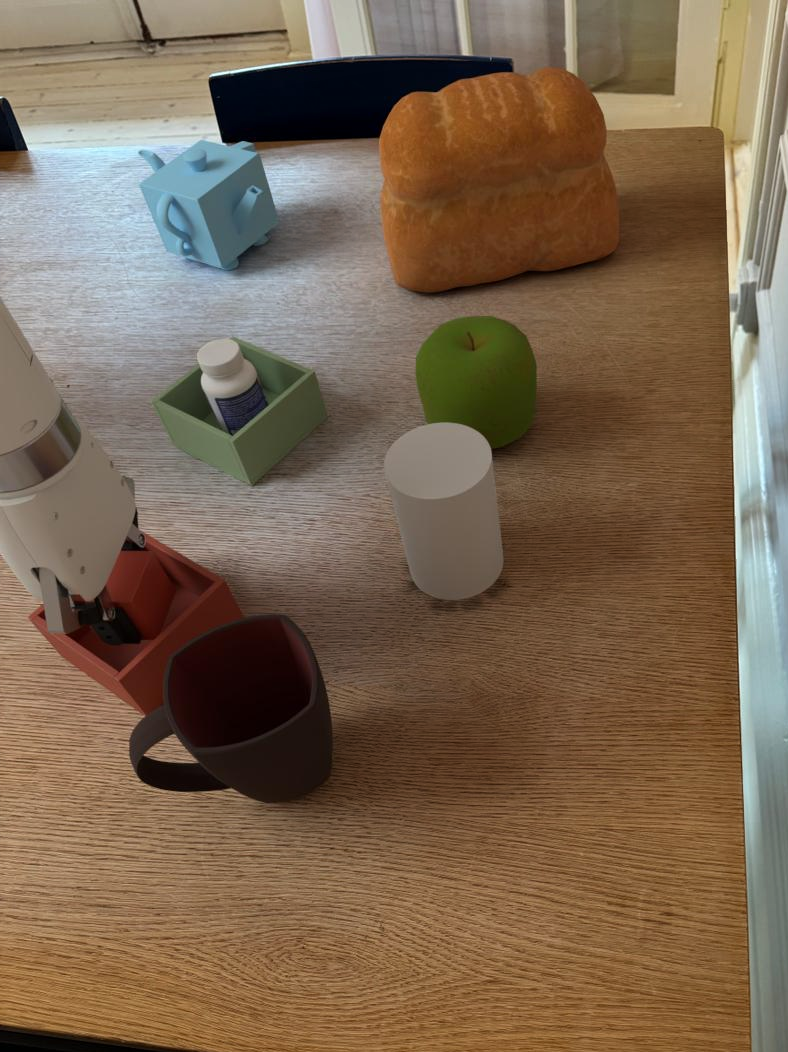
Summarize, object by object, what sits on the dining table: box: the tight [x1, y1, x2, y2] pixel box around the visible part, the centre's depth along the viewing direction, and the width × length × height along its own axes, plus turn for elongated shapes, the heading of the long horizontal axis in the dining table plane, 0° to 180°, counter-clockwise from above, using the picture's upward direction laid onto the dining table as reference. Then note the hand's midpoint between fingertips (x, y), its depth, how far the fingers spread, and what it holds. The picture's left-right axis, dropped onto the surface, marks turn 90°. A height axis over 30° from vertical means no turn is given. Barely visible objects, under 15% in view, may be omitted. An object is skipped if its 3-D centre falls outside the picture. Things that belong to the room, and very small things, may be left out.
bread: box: [378, 66, 620, 294], centre depth 95 cm, size 16×26×17 cm, turn 100°
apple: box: [415, 315, 538, 450], centre depth 81 cm, size 11×11×11 cm
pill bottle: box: [196, 338, 269, 436], centre depth 84 cm, size 5×5×9 cm
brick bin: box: [27, 529, 246, 717], centre depth 72 cm, size 11×11×6 cm
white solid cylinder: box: [383, 423, 505, 601], centre depth 71 cm, size 8×8×12 cm
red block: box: [84, 551, 176, 640], centre depth 69 cm, size 5×5×5 cm
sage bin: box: [150, 336, 329, 487], centre depth 86 cm, size 11×11×6 cm
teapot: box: [137, 139, 280, 271], centre depth 104 cm, size 16×18×11 cm
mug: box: [128, 613, 334, 804], centre depth 61 cm, size 10×14×12 cm
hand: (134, 609), depth 71 cm, fingers closed on red block, 5 cm apart
